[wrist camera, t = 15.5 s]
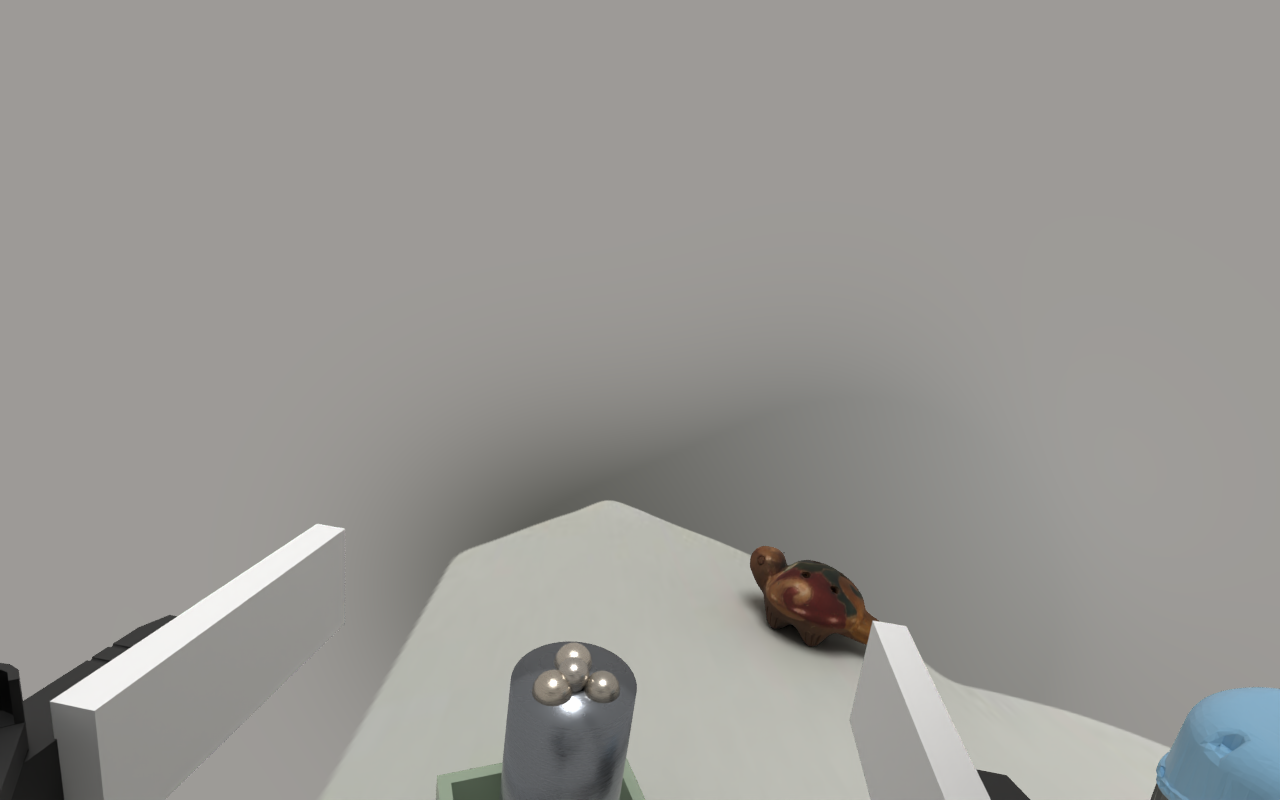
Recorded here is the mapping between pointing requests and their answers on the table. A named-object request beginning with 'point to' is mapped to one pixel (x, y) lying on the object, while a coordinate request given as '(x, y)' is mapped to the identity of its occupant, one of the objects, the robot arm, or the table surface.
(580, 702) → the can
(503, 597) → the table surface
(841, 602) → the decorative turtle
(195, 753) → the robot arm
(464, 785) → the bin
